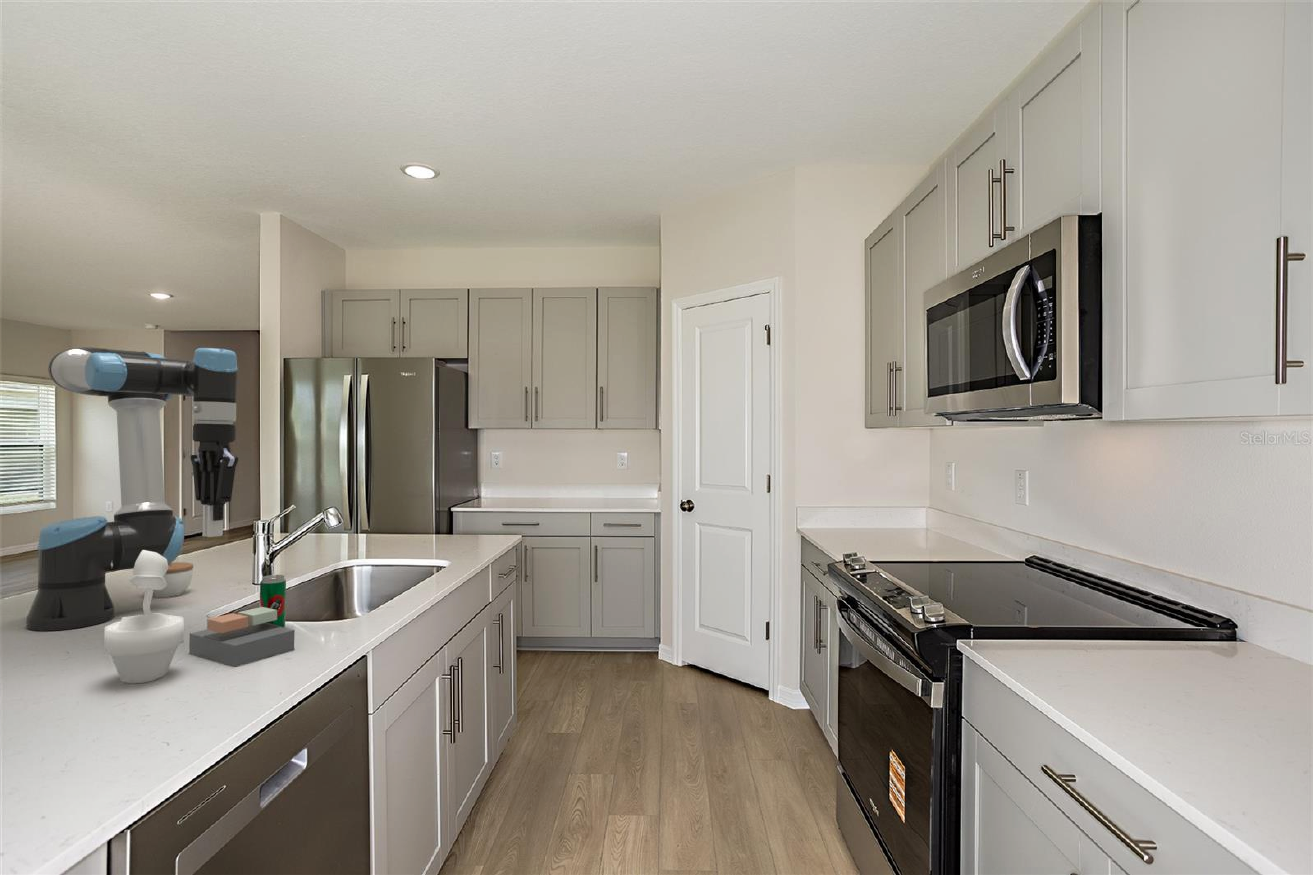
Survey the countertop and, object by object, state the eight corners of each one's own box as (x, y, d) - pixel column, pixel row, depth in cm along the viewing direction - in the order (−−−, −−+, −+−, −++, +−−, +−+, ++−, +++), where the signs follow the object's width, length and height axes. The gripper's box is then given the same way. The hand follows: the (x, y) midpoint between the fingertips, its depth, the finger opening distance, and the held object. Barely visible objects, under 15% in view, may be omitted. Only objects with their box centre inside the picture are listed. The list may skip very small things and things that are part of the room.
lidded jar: (202, 592, 184) (202, 558, 184) (161, 601, 174) (161, 565, 174) (175, 588, 188) (175, 555, 188) (133, 597, 178) (134, 561, 178)
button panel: (189, 653, 134) (189, 632, 134) (249, 638, 144) (249, 618, 144) (234, 666, 127) (234, 644, 127) (294, 649, 137) (294, 629, 137)
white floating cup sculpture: (113, 671, 123) (116, 535, 123) (190, 663, 128) (192, 532, 128) (89, 696, 112) (91, 545, 112) (173, 687, 116) (176, 542, 116)
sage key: (238, 621, 137) (238, 612, 137) (262, 616, 142) (262, 606, 142) (252, 625, 135) (253, 615, 135) (276, 619, 139) (277, 610, 139)
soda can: (290, 627, 153) (291, 574, 153) (275, 634, 148) (276, 579, 148) (269, 626, 153) (270, 573, 153) (253, 633, 148) (254, 578, 148)
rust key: (206, 629, 132) (207, 619, 132) (233, 623, 136) (233, 613, 136) (222, 633, 130) (222, 622, 130) (247, 626, 134) (248, 616, 134)
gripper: (176, 422, 140) (174, 535, 141) (215, 422, 134) (213, 541, 134) (213, 423, 147) (211, 531, 147) (253, 423, 141) (250, 536, 141)
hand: (212, 535), depth 141 cm, fingers closed
